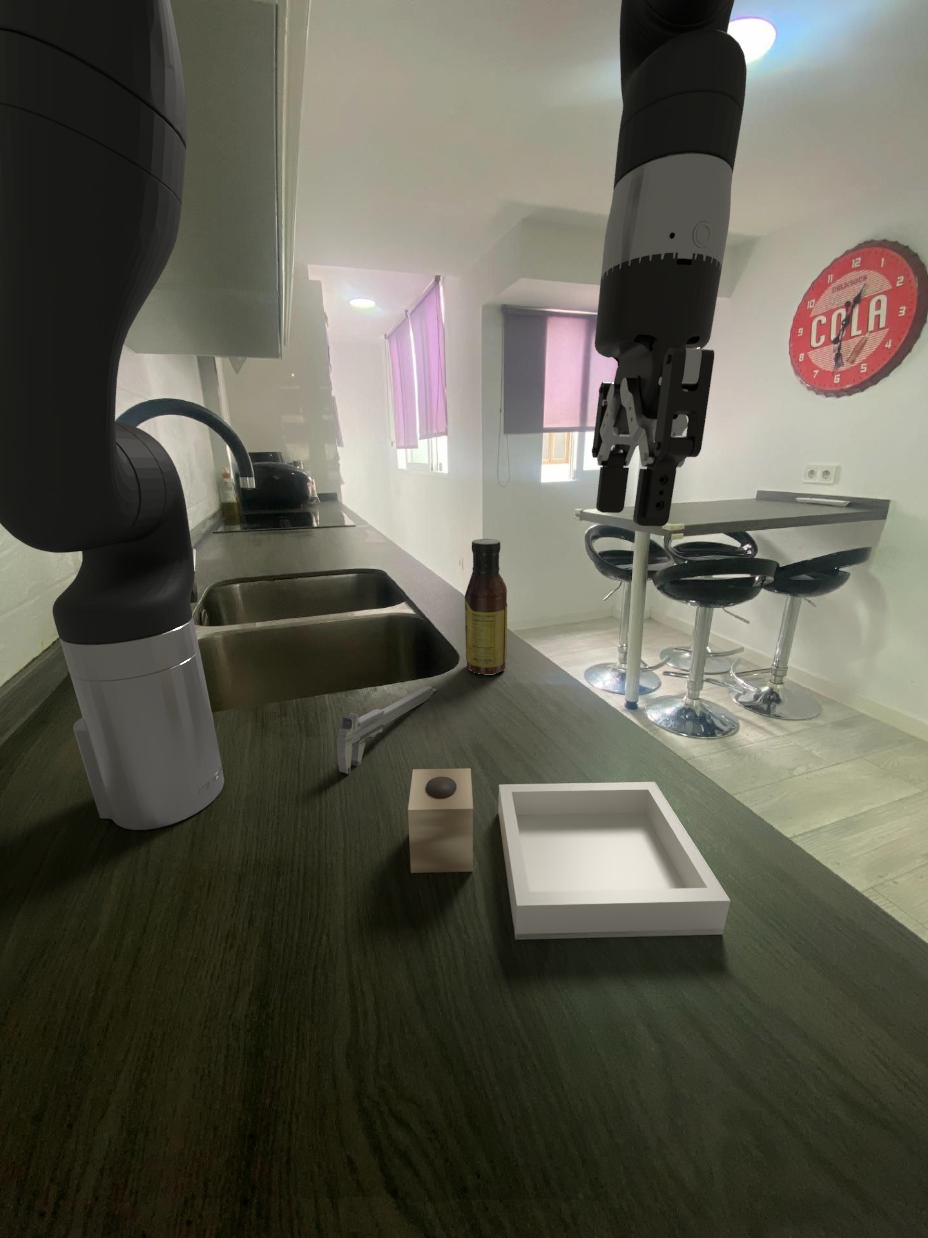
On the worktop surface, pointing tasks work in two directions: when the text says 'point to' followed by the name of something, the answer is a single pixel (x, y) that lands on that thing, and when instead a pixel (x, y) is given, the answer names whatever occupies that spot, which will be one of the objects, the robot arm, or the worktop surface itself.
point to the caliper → (371, 727)
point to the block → (441, 820)
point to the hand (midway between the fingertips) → (627, 518)
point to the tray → (603, 864)
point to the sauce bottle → (486, 610)
